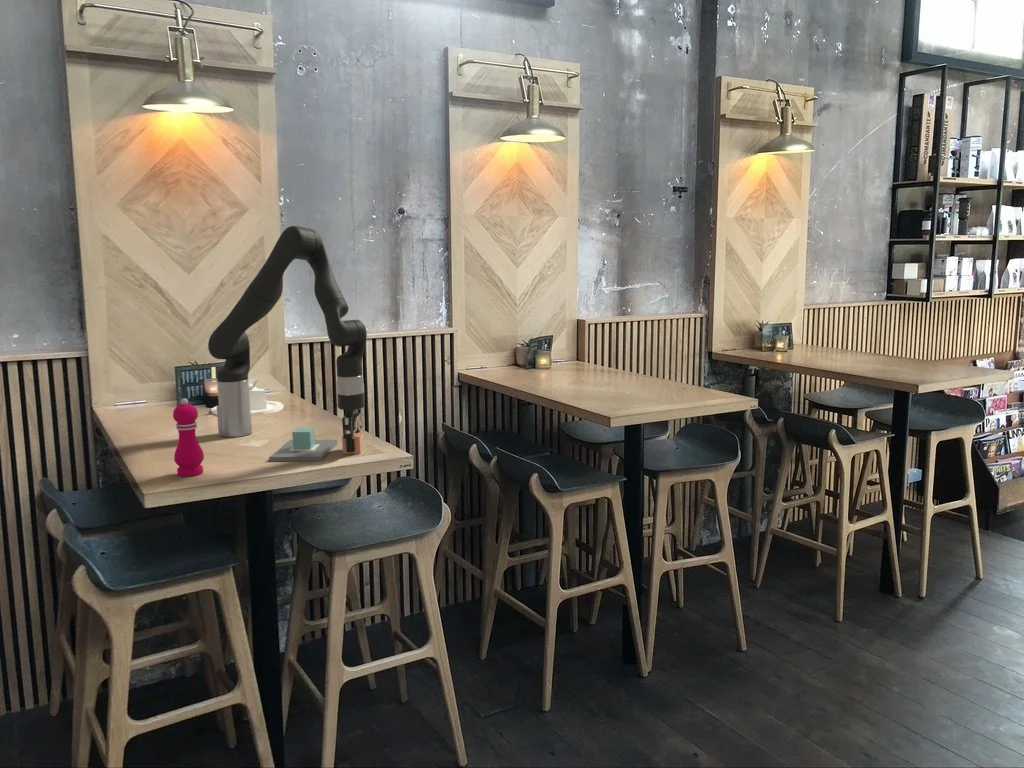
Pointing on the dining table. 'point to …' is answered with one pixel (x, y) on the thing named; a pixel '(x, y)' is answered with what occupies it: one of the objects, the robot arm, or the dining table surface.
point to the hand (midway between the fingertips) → (353, 448)
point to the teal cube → (303, 438)
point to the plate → (303, 452)
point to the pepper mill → (187, 441)
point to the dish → (258, 401)
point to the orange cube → (358, 444)
